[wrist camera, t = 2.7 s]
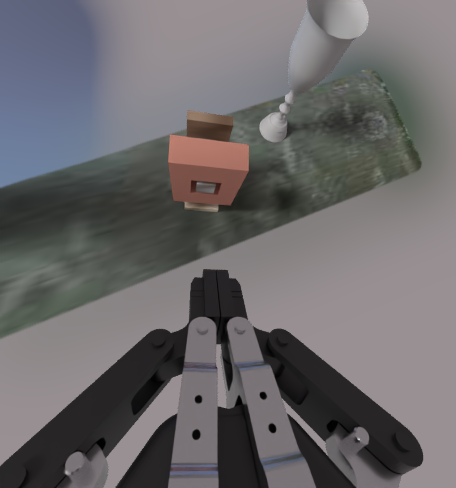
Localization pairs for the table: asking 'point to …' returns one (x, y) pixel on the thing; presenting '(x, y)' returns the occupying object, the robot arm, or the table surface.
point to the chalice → (316, 52)
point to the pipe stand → (211, 130)
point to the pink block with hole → (206, 169)
